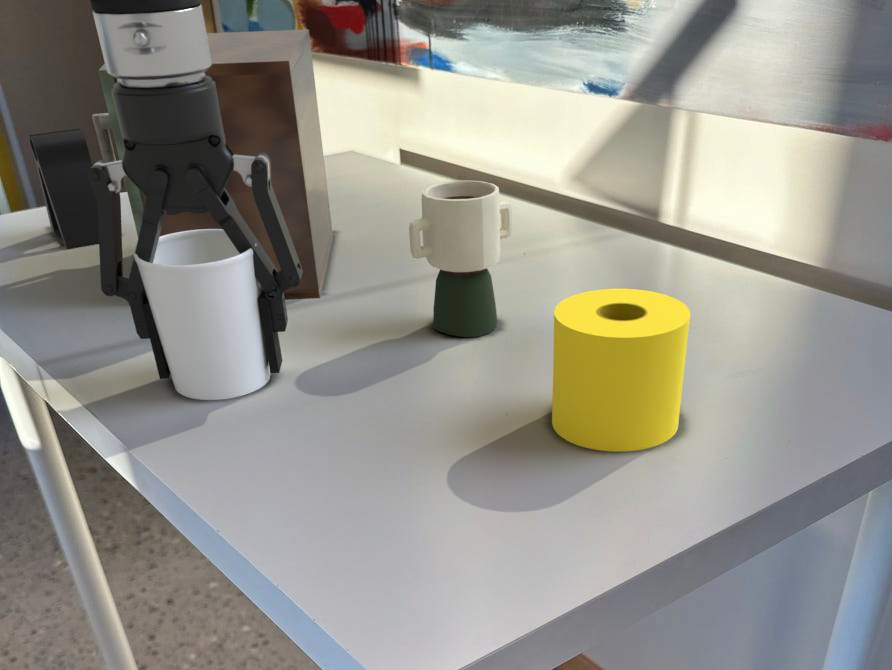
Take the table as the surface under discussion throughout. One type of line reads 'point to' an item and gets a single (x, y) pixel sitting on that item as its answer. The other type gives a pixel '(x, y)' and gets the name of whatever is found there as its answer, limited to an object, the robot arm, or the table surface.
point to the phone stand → (67, 186)
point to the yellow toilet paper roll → (618, 368)
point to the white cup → (207, 314)
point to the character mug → (462, 252)
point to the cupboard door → (102, 130)
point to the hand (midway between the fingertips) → (221, 369)
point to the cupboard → (272, 143)
